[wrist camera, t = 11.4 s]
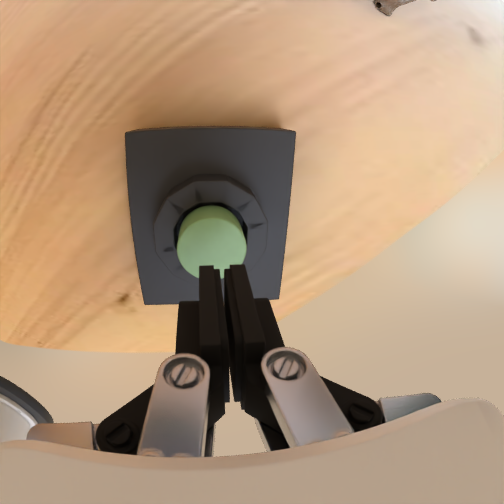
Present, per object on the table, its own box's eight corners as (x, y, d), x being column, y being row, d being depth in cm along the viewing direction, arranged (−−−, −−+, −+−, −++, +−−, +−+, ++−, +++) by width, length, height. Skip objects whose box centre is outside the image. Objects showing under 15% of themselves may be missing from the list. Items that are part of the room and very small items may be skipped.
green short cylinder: (240, 261, 17) (245, 279, 15) (181, 263, 17) (179, 281, 15) (242, 204, 16) (248, 217, 14) (177, 205, 15) (174, 218, 13)
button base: (270, 276, 24) (285, 314, 19) (150, 281, 22) (140, 321, 18) (282, 128, 18) (306, 133, 14) (136, 129, 17) (115, 134, 12)
